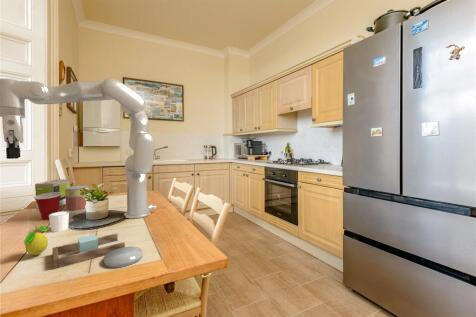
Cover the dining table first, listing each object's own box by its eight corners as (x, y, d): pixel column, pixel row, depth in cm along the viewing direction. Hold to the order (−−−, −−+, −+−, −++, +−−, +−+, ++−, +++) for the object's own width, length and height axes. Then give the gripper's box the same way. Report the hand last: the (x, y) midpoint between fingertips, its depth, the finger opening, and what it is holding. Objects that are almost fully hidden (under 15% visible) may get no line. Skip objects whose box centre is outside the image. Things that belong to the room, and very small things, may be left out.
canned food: (82, 204, 139) (81, 185, 138) (93, 207, 134) (93, 186, 133) (61, 209, 129) (60, 188, 128) (73, 212, 124) (72, 190, 123)
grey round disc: (136, 247, 81) (136, 243, 81) (147, 259, 73) (147, 255, 73) (100, 257, 74) (100, 253, 74) (108, 272, 66) (108, 267, 65)
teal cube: (95, 248, 81) (95, 234, 80) (98, 253, 77) (97, 239, 77) (78, 252, 77) (77, 238, 77) (80, 258, 74) (79, 243, 73)
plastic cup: (29, 220, 110) (28, 195, 109) (54, 213, 120) (53, 191, 119) (43, 223, 106) (42, 197, 105) (68, 216, 116) (67, 193, 115)
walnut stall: (116, 239, 88) (116, 233, 88) (124, 249, 79) (124, 242, 79) (52, 255, 75) (52, 247, 75) (54, 269, 67) (53, 260, 67)
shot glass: (58, 233, 94) (57, 216, 94) (45, 231, 95) (44, 215, 95) (73, 227, 101) (73, 211, 100) (60, 226, 102) (60, 210, 102)
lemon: (48, 248, 80) (47, 220, 79) (52, 254, 76) (51, 224, 76) (22, 256, 75) (20, 226, 74) (25, 261, 71) (23, 230, 70)
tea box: (54, 202, 144) (53, 179, 143) (71, 202, 145) (70, 179, 144) (35, 209, 129) (34, 183, 128) (54, 208, 130) (53, 182, 129)
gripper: (23, 111, 83) (26, 158, 84) (26, 116, 96) (28, 156, 97) (-7, 109, 78) (-4, 159, 79) (0, 114, 91) (2, 157, 92)
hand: (13, 158), depth 88 cm, fingers open, 9 cm apart
